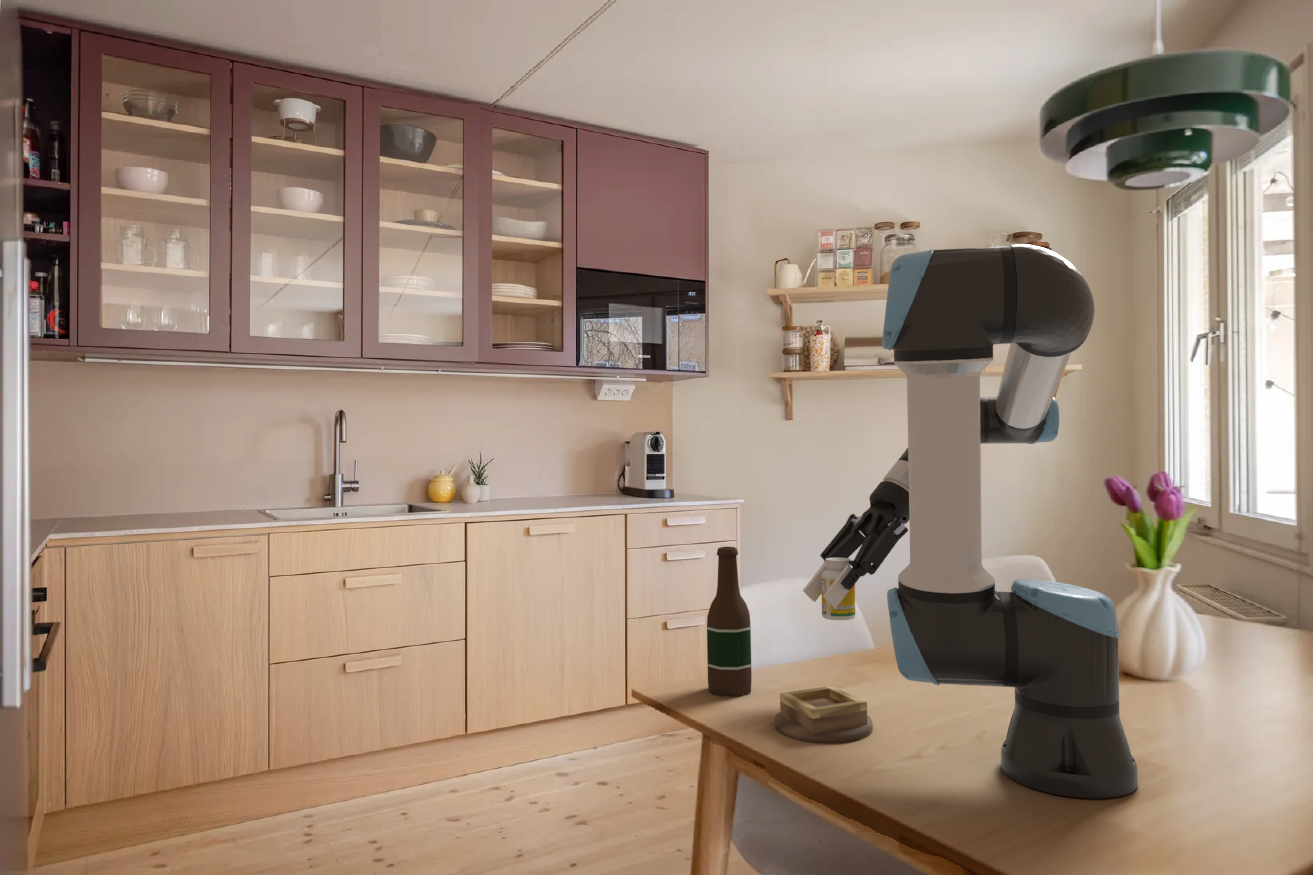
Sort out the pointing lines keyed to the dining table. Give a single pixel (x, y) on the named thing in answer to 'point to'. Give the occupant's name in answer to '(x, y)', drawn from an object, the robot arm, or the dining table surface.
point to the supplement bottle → (848, 602)
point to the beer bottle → (728, 632)
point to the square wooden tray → (823, 716)
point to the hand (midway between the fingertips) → (819, 598)
